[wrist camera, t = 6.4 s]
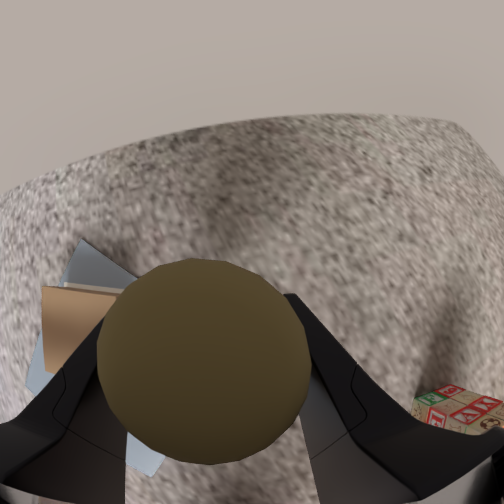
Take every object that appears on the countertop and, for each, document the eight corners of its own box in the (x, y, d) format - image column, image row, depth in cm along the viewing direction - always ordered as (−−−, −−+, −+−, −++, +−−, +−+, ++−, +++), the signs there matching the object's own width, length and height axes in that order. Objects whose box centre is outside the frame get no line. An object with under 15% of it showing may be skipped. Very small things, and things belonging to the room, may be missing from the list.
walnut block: (134, 375, 20) (117, 390, 16) (68, 361, 20) (45, 371, 16) (134, 294, 21) (115, 296, 17) (66, 286, 21) (42, 286, 17)
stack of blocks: (415, 502, 20) (456, 542, 8) (379, 518, 20) (417, 565, 8) (450, 382, 23) (526, 407, 11) (412, 396, 22) (491, 436, 10)
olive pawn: (286, 345, 16) (379, 439, 5) (192, 382, 15) (142, 511, 4) (247, 250, 16) (282, 179, 5) (151, 288, 15) (23, 292, 4)
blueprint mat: (152, 475, 19) (151, 477, 19) (26, 385, 19) (24, 385, 19) (238, 339, 22) (238, 339, 21) (82, 239, 22) (80, 238, 21)
